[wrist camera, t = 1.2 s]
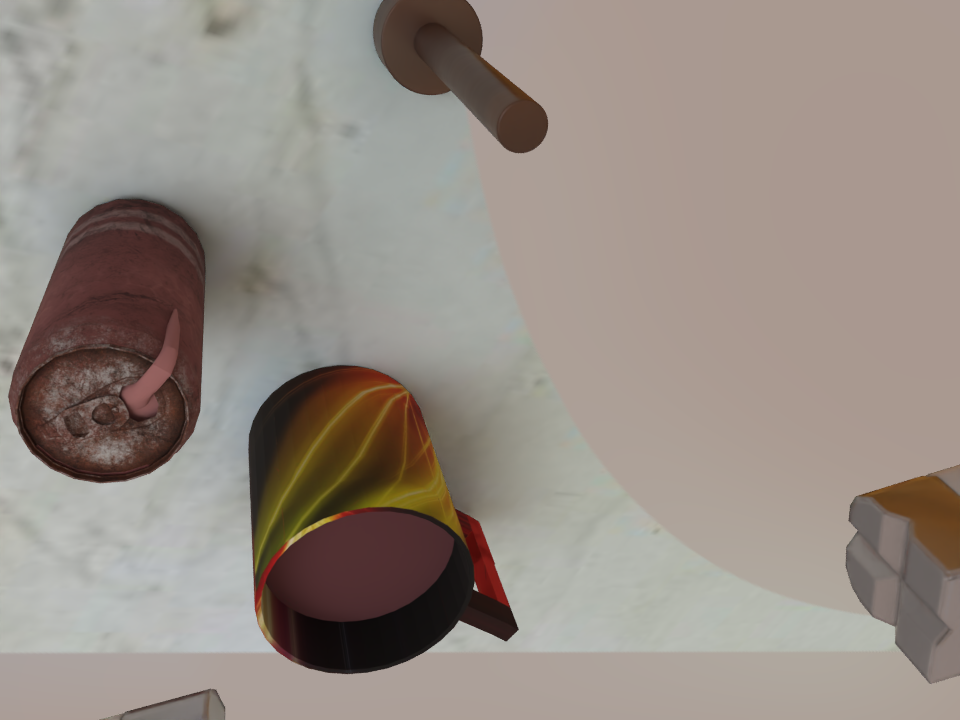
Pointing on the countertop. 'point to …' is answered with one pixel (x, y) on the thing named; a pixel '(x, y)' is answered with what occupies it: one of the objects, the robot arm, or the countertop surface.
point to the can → (115, 346)
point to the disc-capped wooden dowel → (455, 66)
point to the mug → (360, 528)
